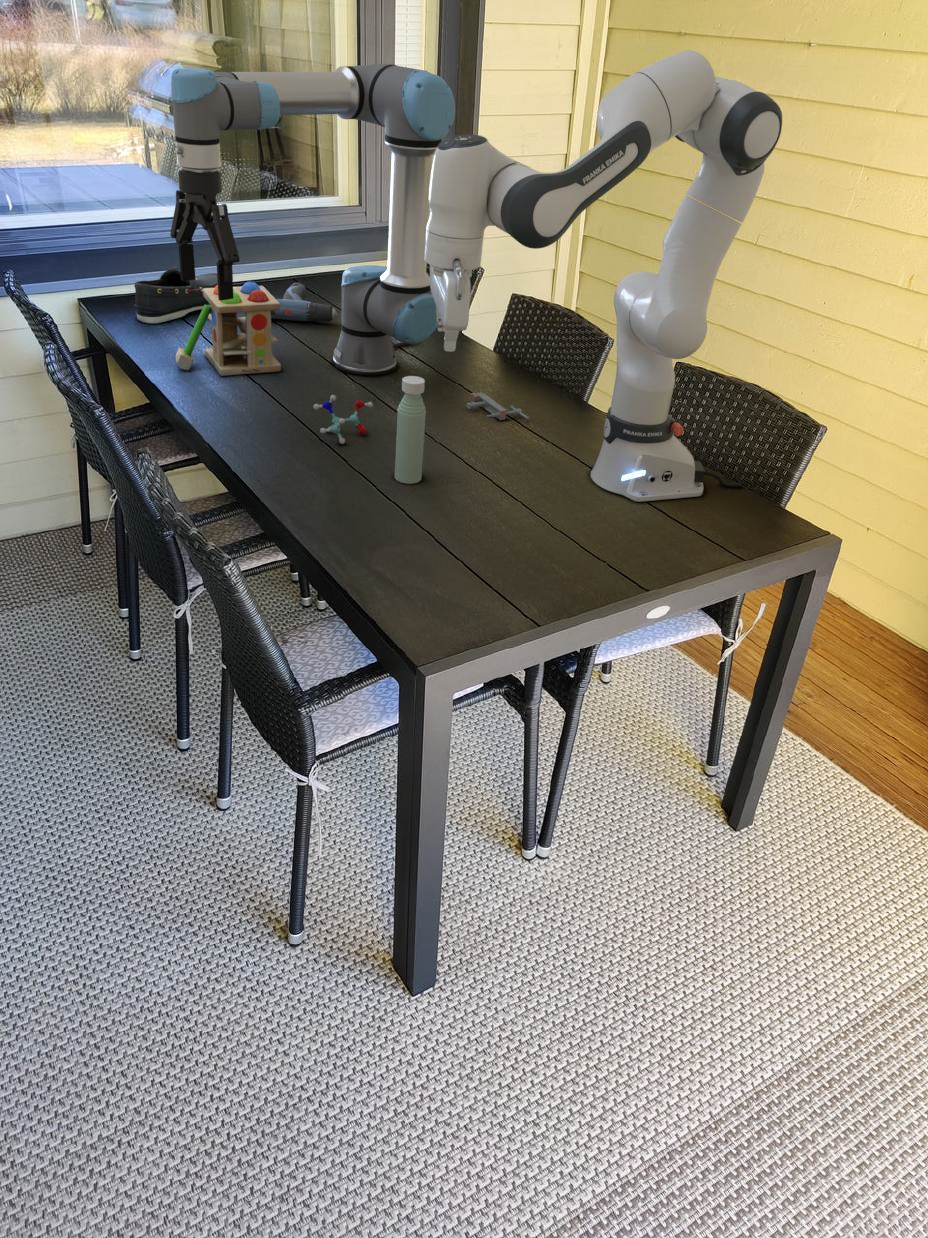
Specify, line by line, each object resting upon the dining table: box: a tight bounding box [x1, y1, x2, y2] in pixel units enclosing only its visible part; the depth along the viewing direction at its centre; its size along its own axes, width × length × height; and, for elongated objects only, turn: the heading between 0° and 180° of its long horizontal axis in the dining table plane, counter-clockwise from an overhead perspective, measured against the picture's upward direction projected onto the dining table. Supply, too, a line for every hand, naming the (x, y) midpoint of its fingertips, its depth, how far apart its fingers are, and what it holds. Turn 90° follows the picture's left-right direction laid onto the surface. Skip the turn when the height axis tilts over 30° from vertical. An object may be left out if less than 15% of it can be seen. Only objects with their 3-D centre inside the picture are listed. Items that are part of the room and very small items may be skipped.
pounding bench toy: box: [174, 281, 282, 377], centre depth 225 cm, size 23×14×18 cm, turn 116°
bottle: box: [394, 392, 427, 485], centre depth 184 cm, size 5×5×19 cm
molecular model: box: [312, 394, 374, 445], centre depth 201 cm, size 12×10×10 cm
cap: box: [401, 375, 426, 395], centre depth 179 cm, size 4×4×2 cm
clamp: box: [466, 391, 531, 421], centre depth 219 cm, size 15×2×10 cm
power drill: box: [271, 282, 338, 322], centre depth 265 cm, size 5×19×20 cm
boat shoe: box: [133, 267, 218, 324], centre depth 260 cm, size 13×33×10 cm, turn 147°
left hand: (206, 289), depth 186 cm, fingers open, 13 cm apart
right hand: (445, 339), depth 158 cm, fingers open, 8 cm apart
